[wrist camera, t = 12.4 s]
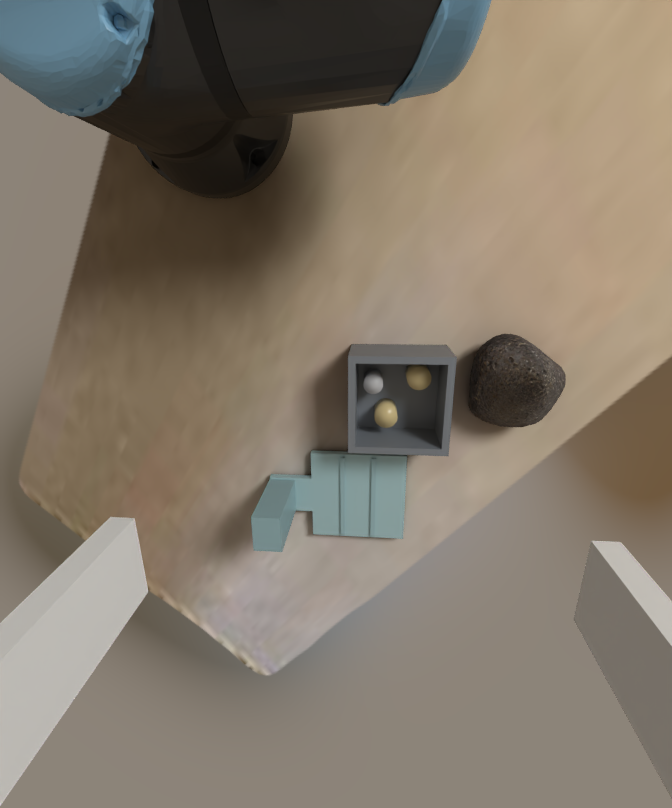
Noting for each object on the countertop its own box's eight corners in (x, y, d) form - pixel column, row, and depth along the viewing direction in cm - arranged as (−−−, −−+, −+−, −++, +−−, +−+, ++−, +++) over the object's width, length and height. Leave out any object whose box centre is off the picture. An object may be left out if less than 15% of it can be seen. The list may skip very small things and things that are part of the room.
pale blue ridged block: (269, 449, 50) (248, 486, 41) (406, 453, 48) (412, 493, 40) (274, 528, 53) (256, 577, 45) (402, 534, 52) (407, 586, 44)
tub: (351, 344, 45) (348, 356, 40) (446, 345, 44) (456, 357, 39) (351, 430, 48) (347, 452, 43) (439, 432, 48) (448, 456, 42)
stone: (526, 404, 50) (604, 370, 41) (494, 452, 45) (573, 427, 37) (468, 343, 49) (534, 297, 41) (431, 387, 45) (495, 345, 36)
